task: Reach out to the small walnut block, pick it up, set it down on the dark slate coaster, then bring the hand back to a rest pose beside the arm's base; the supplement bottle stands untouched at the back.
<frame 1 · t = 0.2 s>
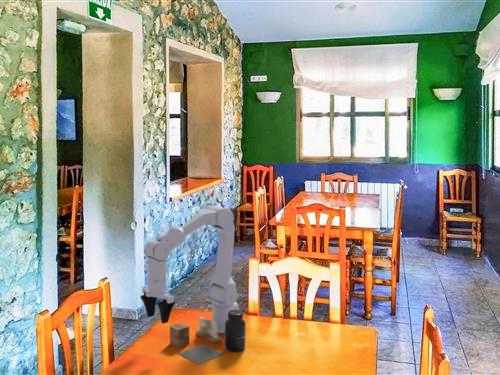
hand: (157, 319, 164), 10 cm above the table, tool pointing down, fingers open, 7 cm apart
coaster: (200, 354, 161), on the table
supplement bottle: (235, 348, 166), on the table
walnut block: (179, 343, 169), on the table
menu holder: (208, 337, 174), on the table
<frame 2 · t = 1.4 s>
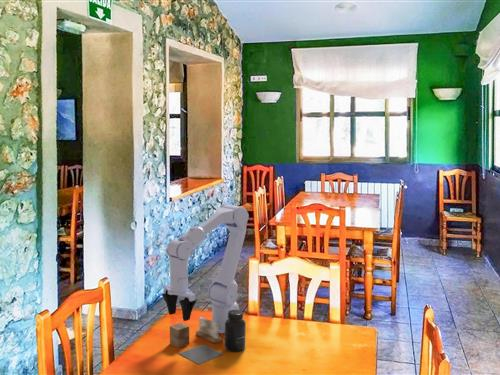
hand: (179, 316, 168), 9 cm above the table, tool pointing down, fingers open, 7 cm apart
nothing on the table moved.
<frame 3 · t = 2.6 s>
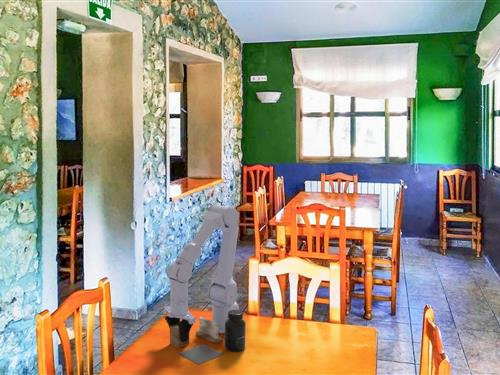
hand: (179, 338, 169), 2 cm above the table, tool pointing down, fingers closed on walnut block, 4 cm apart
walnut block: (179, 343, 169), on the table, touching gripper
everything else where it was.
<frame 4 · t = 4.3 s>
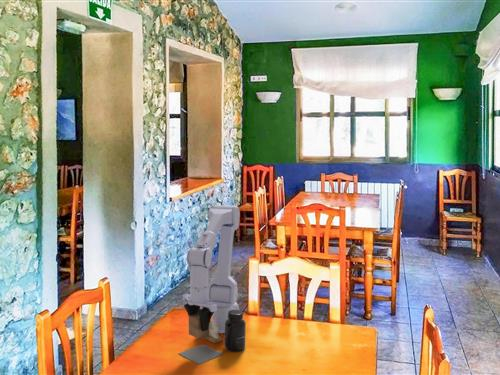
hand: (199, 327, 161), 8 cm above the table, tool pointing down, fingers closed on walnut block, 4 cm apart
walnut block: (198, 334, 161), point 6 cm above the table, touching gripper
everything else where it was.
when the fingers open (3 cm above the table, at t = 5.8 s): walnut block drops 1 cm, resting on coaster.
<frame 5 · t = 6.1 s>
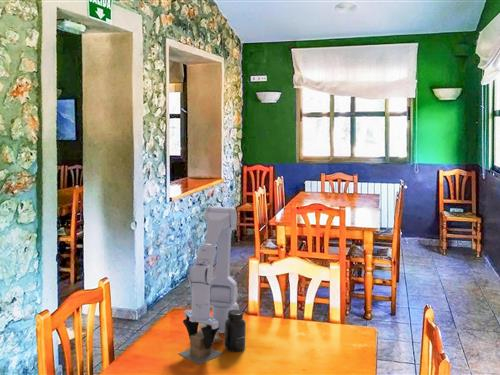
hand: (200, 344, 161), 3 cm above the table, tool pointing down, fingers open, 7 cm apart
walnut block: (200, 353, 161), resting on coaster
everything else where it was.
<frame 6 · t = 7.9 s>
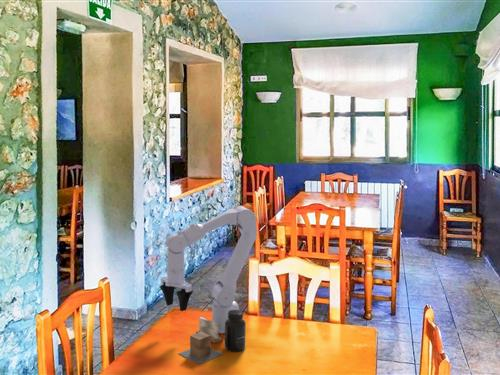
hand: (176, 307, 176), 9 cm above the table, tool pointing down, fingers open, 7 cm apart
nothing on the table moved.
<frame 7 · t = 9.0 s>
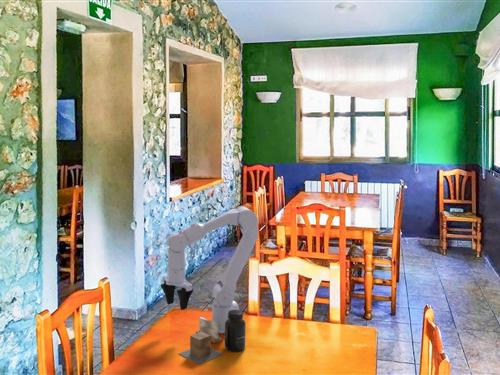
hand: (176, 306, 177), 9 cm above the table, tool pointing down, fingers open, 7 cm apart
nothing on the table moved.
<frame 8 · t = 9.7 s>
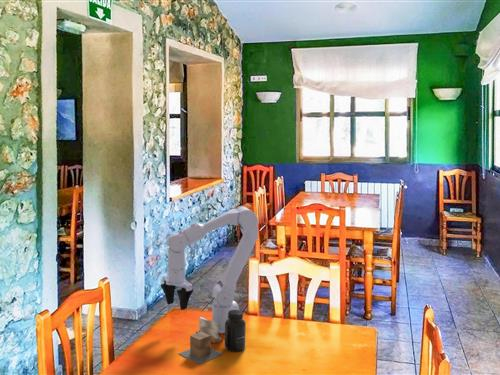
hand: (176, 306, 177), 9 cm above the table, tool pointing down, fingers open, 7 cm apart
nothing on the table moved.
at the end: walnut block 0.2 cm from the coaster (horizontally); walnut block tilted 0°; walnut block resting on coaster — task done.
